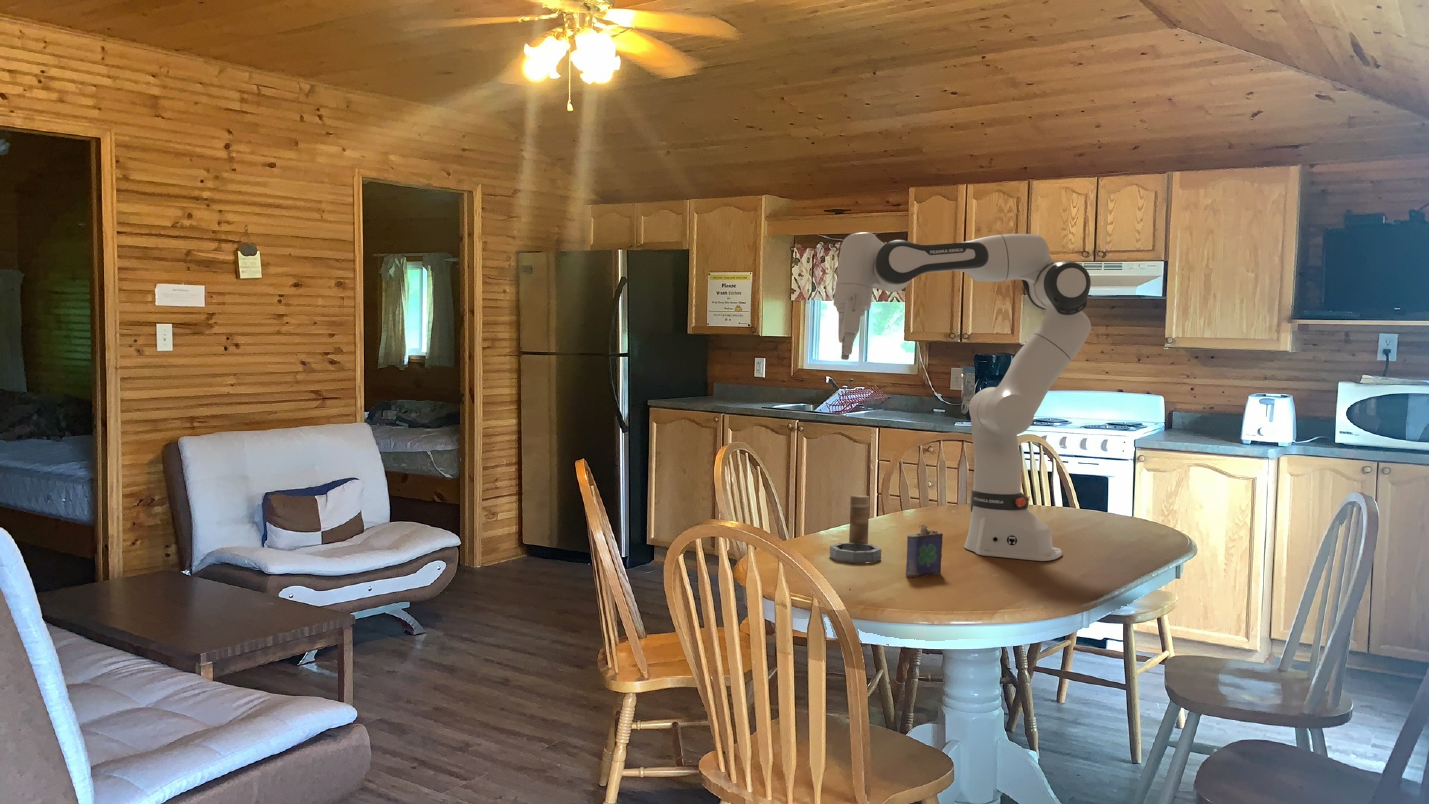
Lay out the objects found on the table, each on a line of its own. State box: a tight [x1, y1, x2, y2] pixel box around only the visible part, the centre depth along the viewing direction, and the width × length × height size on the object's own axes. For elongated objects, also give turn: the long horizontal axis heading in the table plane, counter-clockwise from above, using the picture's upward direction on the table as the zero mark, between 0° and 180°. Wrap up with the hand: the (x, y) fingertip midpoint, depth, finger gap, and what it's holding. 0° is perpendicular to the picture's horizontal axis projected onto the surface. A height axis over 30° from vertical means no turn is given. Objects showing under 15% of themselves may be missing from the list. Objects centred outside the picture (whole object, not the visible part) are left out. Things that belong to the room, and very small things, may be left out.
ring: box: [829, 542, 882, 564], centre depth 244 cm, size 11×11×2 cm
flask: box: [905, 524, 944, 578], centre depth 228 cm, size 9×3×11 cm, turn 121°
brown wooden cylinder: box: [848, 494, 870, 544], centre depth 258 cm, size 5×5×12 cm
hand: (846, 357), depth 253 cm, fingers open, 8 cm apart
